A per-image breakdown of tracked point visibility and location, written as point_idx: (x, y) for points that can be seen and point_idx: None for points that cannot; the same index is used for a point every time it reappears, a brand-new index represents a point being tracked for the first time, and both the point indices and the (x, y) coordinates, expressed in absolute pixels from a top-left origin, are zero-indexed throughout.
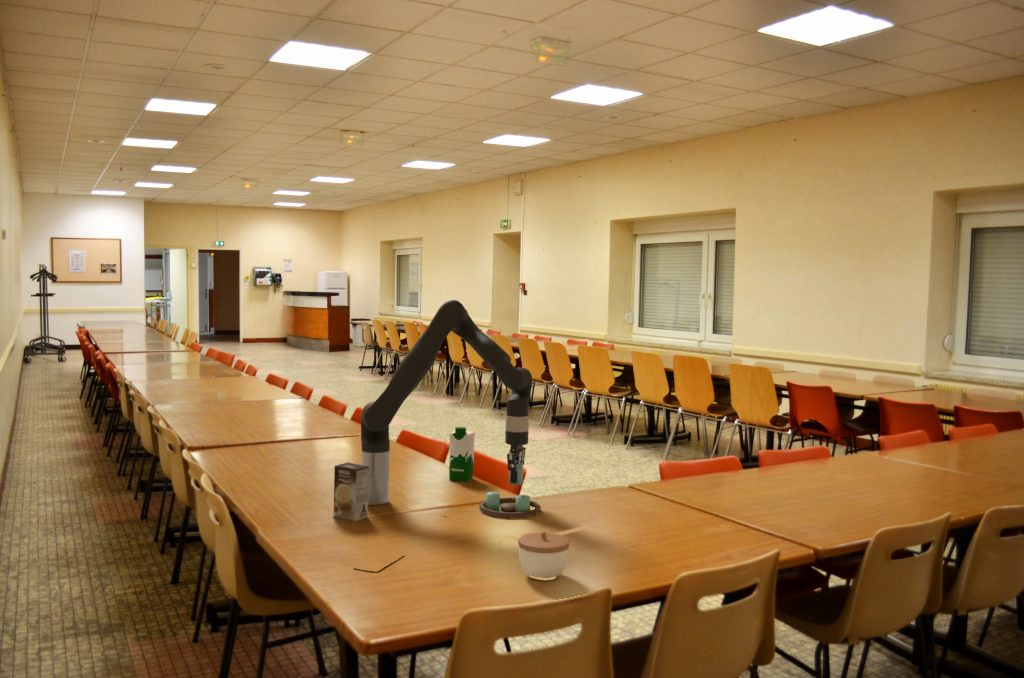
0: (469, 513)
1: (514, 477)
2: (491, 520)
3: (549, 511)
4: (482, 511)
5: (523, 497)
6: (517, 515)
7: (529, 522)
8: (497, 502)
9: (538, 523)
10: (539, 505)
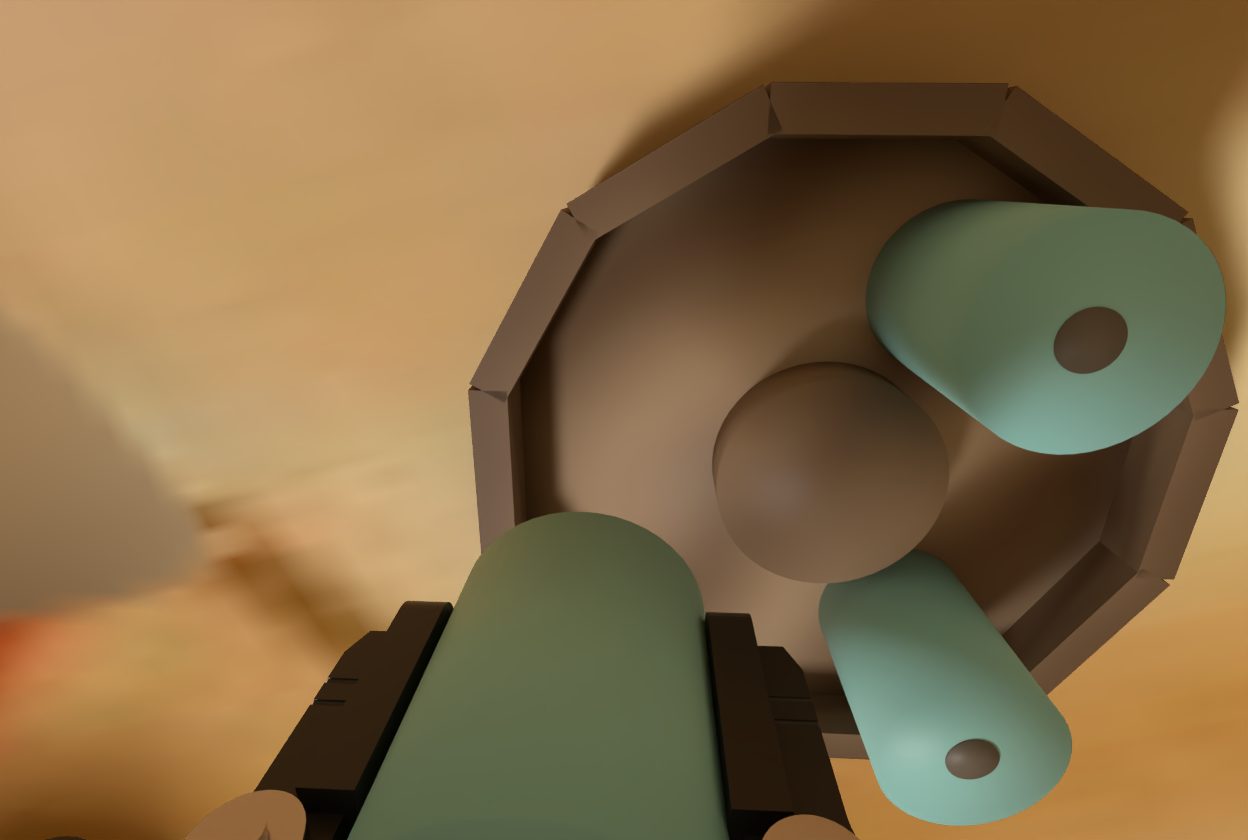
0: None
1: (813, 729)
2: None
3: (568, 12)
4: None
5: (1144, 317)
6: None
7: (1158, 138)
8: (986, 624)
9: (1197, 4)
10: (728, 114)
